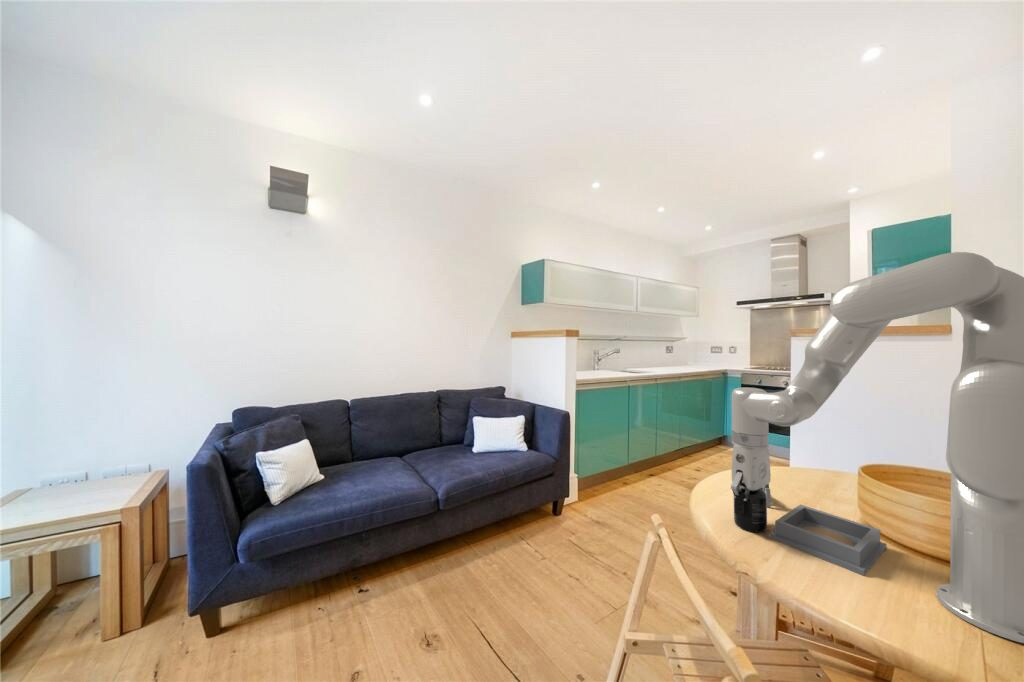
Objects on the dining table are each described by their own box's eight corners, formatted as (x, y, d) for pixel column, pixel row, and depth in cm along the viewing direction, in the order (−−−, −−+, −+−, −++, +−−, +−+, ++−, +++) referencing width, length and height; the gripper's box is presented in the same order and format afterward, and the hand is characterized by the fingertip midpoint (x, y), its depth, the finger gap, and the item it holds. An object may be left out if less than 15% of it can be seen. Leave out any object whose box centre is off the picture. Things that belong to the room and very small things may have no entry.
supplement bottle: (766, 523, 90) (766, 475, 90) (767, 536, 84) (767, 485, 84) (733, 516, 94) (733, 470, 93) (733, 528, 88) (733, 479, 88)
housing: (886, 548, 79) (886, 530, 79) (864, 575, 70) (864, 555, 70) (797, 517, 92) (797, 502, 92) (769, 537, 84) (769, 520, 84)
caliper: (771, 509, 98) (771, 486, 98) (766, 508, 98) (766, 485, 98) (746, 480, 117) (746, 460, 117) (742, 479, 118) (742, 460, 117)
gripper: (749, 449, 81) (749, 528, 81) (782, 436, 90) (783, 507, 90) (715, 441, 87) (715, 515, 87) (749, 430, 96) (750, 496, 97)
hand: (749, 510), depth 89 cm, fingers closed on supplement bottle, 6 cm apart
